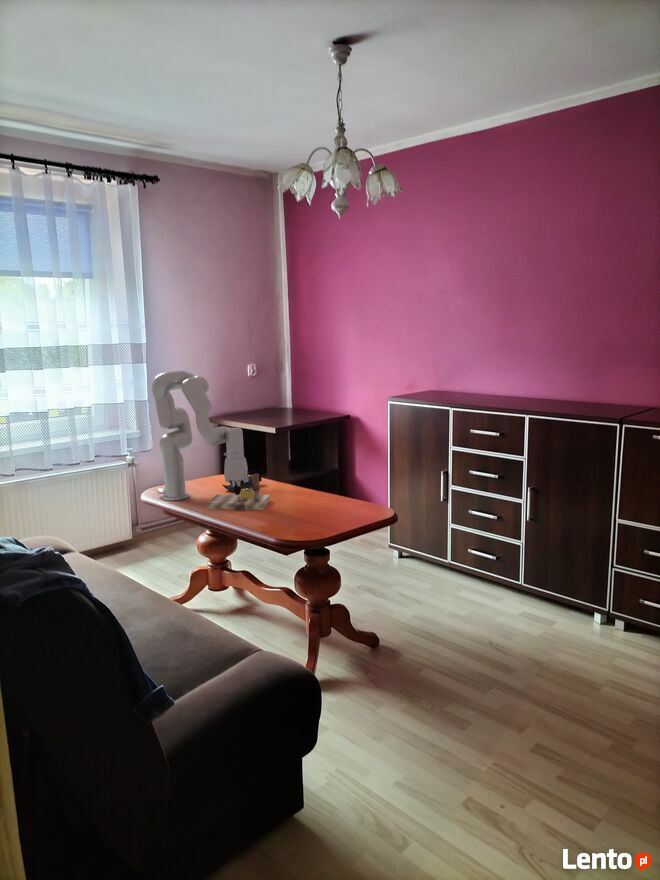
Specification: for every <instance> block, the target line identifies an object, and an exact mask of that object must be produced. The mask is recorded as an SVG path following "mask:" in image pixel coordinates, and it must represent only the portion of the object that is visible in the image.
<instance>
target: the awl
mask: <svg viewBox="0 0 660 880" xmlns="http://www.w3.org/2000/svg"><path fill="white" fill-rule="evenodd" d="M259 475H260V473H253V474H251V476H252V484H253V487H252V489H253V491H254V501H259V495H260V491H261V490H260V482H259Z"/></svg>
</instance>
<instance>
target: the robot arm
mask: <svg viewBox="0 0 660 880" xmlns="http://www.w3.org/2000/svg"><path fill="white" fill-rule="evenodd" d="M209 386H210V385H209V382H208V380H207V379H206V378H205V377H203V376H201V375H198V374H195V373H191V372H188V371H185V370H173V371H165V372H162V373H159V374H157V375H155V377H154V379H153V381H152V383H151V391H152V396H153V398H154V403H155V409H156V415H157V420H158V424H159V426H160V428H161V429H163V430H167V431H168V430H173V431H170V432H166V433H164V434H163V435H162V436H161V437H160V440H159V448H160V452H161V456H162V466H163V478H164V488H157V491H156V492H157V493H158V494H159V495H161V494H162V500H164V501H170V502H171V501H172V502H173V501H174V500H175V501H182V500H185V499H188V498H189V497H190V493H189V492H187V490H186V487H187V486H186V476H185V475H186V474H185V461H184V457H183V454H182V453H181V451H183V450H185V449H188V448H190V447H191V445H192V443H193V433H192V428H191V422H190V421H191V420H190V417H189V414H188V412H187V410H185V409H184V408H182V407H180V406H179V407H176V405H175V401H174V400H175V399H174V397H173V396H172V394H171V392H170V391H174V390H179V389H181V392H182V393H183V395H184V397H185V398H186V400H187V401H188V403H189V405H190V407H191V408H192V410H193V412H194V413H195V423H196V428H197V431H198V433H199V435H201V437H202V439H203V440H204V442H205V443H206V444H207V445H209V446H213V447H215V446H218V445H221V444H225V443H226V452H224V453H223V456H225V457H226V458H225V459H224V472H223V473H224V479H225V480H224V482H225V483H228V484H229V483H230V484H232V485H233V487H234V491H233V493H234V495H240V491H241V485H242V484H243V483H245V482H248V481H249V480H248V476H249V470H248V463H247V459H246V457H245V452H244V435H243V429H242V428H240V427H229V426H224V425H221V426H218V427H214V426H213V425H212V423H211V421H210V417H209V413H210V411H211V408H212V407H213V404H212V402H211V400H210V399H209V397H208V395H207V394H206V393H207V392H208V391H209V388H210V387H209ZM236 481H238V485H237V483H236Z"/></svg>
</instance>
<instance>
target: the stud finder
mask: <svg viewBox="0 0 660 880" xmlns="http://www.w3.org/2000/svg"><path fill="white" fill-rule="evenodd" d="M239 495H240V498H254V491H253V488H248V489H242V490H241V491H240V494H239Z"/></svg>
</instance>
